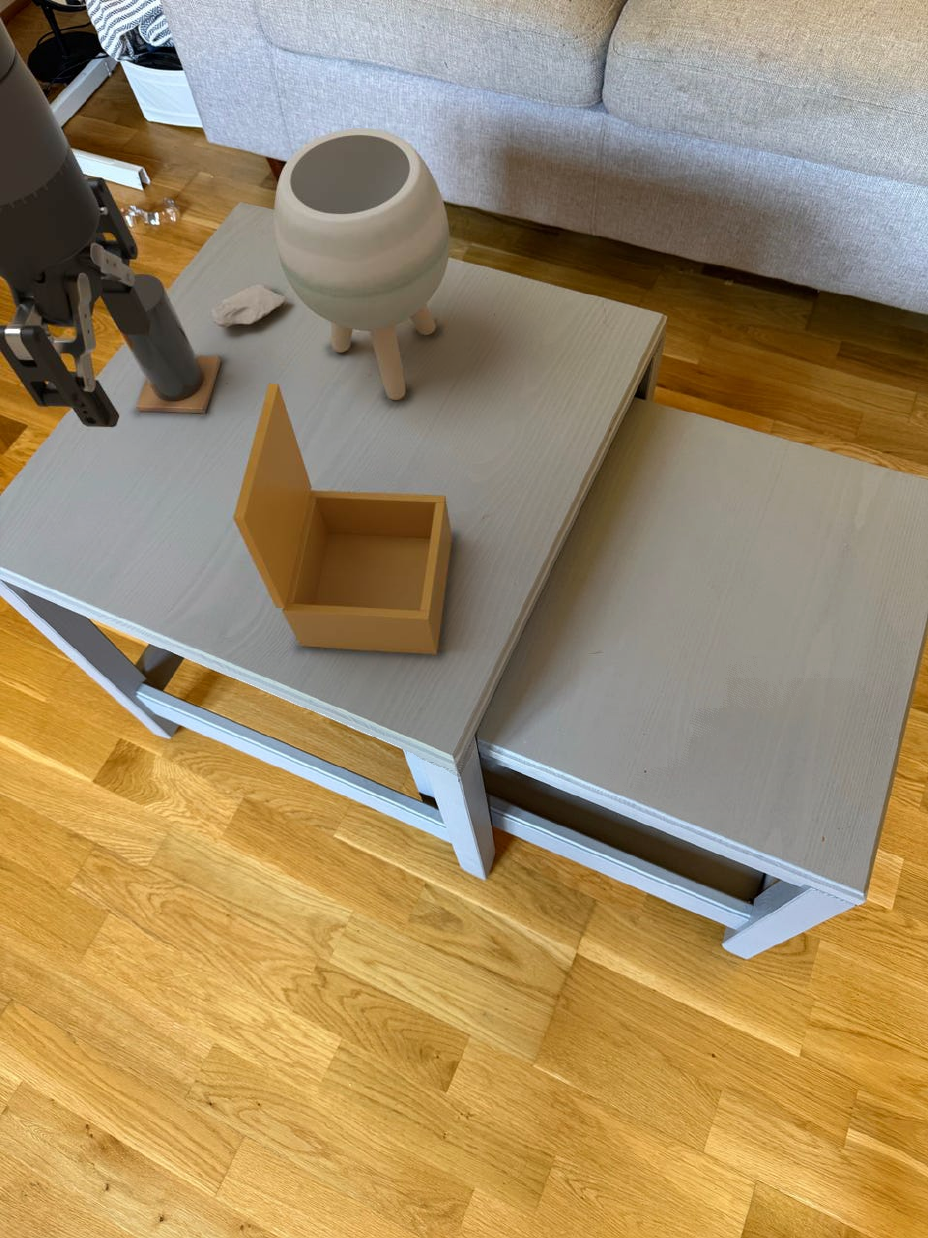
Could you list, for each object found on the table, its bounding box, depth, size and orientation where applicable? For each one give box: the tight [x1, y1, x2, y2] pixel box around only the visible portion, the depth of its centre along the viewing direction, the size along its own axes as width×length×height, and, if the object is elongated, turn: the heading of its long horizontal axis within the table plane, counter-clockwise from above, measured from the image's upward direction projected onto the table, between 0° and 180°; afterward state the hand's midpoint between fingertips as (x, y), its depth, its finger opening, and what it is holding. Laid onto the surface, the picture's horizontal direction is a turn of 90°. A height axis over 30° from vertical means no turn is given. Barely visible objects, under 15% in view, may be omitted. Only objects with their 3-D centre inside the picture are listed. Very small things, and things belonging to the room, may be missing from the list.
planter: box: [273, 128, 451, 401], centre depth 89 cm, size 16×16×22 cm
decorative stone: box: [210, 284, 288, 328], centre depth 102 cm, size 9×6×3 cm, turn 123°
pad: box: [136, 355, 222, 414], centre depth 98 cm, size 8×8×1 cm
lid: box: [232, 383, 313, 609], centre depth 73 cm, size 14×13×1 cm
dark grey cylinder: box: [119, 273, 204, 401], centre depth 93 cm, size 6×6×12 cm
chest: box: [281, 489, 453, 655], centre depth 82 cm, size 13×13×7 cm
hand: (121, 375), depth 62 cm, fingers open, 8 cm apart
